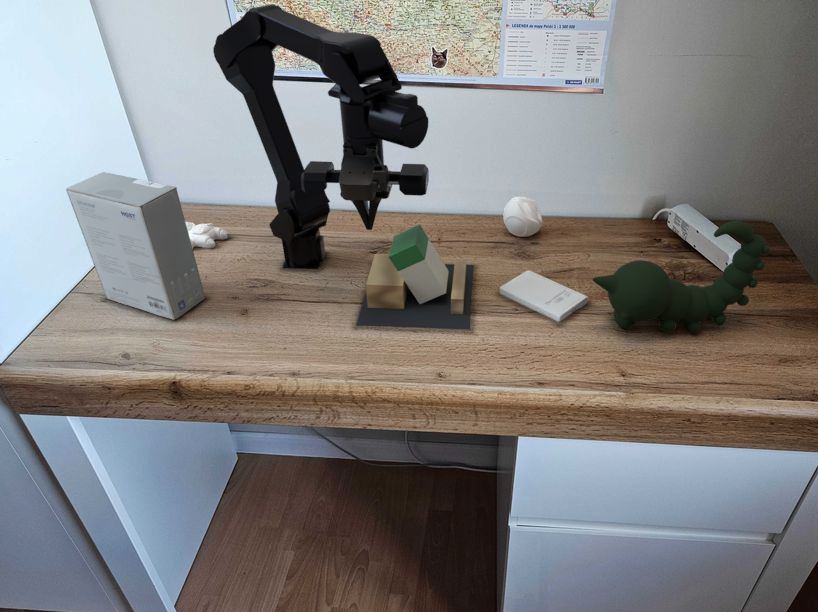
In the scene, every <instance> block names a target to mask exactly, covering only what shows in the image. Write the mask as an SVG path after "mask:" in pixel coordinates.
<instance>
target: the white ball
mask: <svg viewBox="0 0 818 612" xmlns="http://www.w3.org/2000/svg"><path fill="white" fill-rule="evenodd" d="M537 205H538V201H537V200H534V199H532V198H528V197H525V196H518V195H516V196H514V197H512V198H511V199H510V200H508V202H507V203H506V204H505V206H504V208H503V214H502V220H503V223H504V226H505V228H506V230H507V231H508V232H509V233H510V234H512V235H514V236H515V237H519V238H520V237H521V238H526V237H530V236H533V235H534V234H536V233H538V232H539V231H540V229H541V227H542V226H543V224H544V221H543V217H542V213H541V212H540V210H539V208H538V207H537Z"/></svg>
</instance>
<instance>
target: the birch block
mask: <svg viewBox="0 0 818 612" xmlns="http://www.w3.org/2000/svg"><path fill="white" fill-rule="evenodd" d="M407 292H408V286H407V284H406V283H405V281H404V280H403V278H402V277H401V275H400V274H399V272H398V271H397V269H396V268H395V266H394V265H393V263H392V262H391V260H390V259H389V253H375V254H374V256H373V259H372V262H371V266H370V269H369V273H368V275H367V279H366V283H365V294H366V293H367V305H368V308H389V309H404V307H405V302H406V297H407Z"/></svg>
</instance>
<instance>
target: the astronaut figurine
mask: <svg viewBox="0 0 818 612" xmlns="http://www.w3.org/2000/svg"><path fill="white" fill-rule="evenodd" d="M185 223H186V226H187V230H188V234H189V237H190V241H191V245H192V249H193V250H194V248H195V247H199V248H204V249H214V248H215V247H216V242H215V240H227V239H228V236H229V235H228V233H227V231H226V230H225V229H223V228H222V227H218V226H215V223H213V222H208V223H199V224H195V223H194V222H190V221H185Z"/></svg>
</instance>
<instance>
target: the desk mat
mask: <svg viewBox="0 0 818 612" xmlns="http://www.w3.org/2000/svg"><path fill="white" fill-rule="evenodd" d="M444 264H445V266H446V268H447V269H448V271H449V273H448V281H447V290H446V293H445V294H443V295H441V296H438V297H436V298H434V299H431V300H429V301H427V302H424V303H422V304H419V302H418V301H417V299H416V298H415V296H414V295H413V293H412V292H411V290H410V289H409V287H408V292H407V297H406V302H405V307H404V309H389V308H368V305H367V293H366V292H365V294H364V297H363V301H362V304H361V308H360V310H359V314H358V317H357V320H356V321H357V322H356V324H355V325H356V326H358V327H360V326H361V327H383V328H384V327H387V328H388V327H389V328H411V329H412V328H413V329H414V328H415V329H442V330H443V329H444V330H467V331H468V330H469V331H470V329H471V313H472V299H473V298H472V297H473V282H474V264H466V284H465V297H464V310H463V315H462V314H451V293H452V284H453V275H454V265H455V263H454V264H453V263H444Z"/></svg>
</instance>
